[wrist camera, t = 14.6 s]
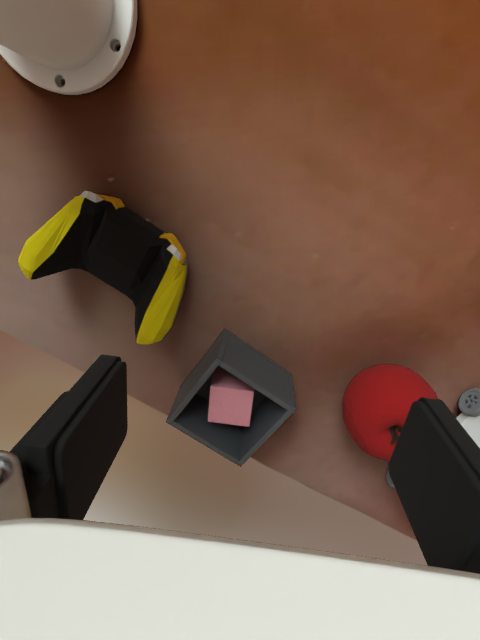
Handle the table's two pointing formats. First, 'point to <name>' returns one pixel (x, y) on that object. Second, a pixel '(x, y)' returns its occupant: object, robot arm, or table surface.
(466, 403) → the toy car
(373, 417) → the apple
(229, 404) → the pink block
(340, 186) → the table surface
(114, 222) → the gaming controller
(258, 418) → the grey bin
